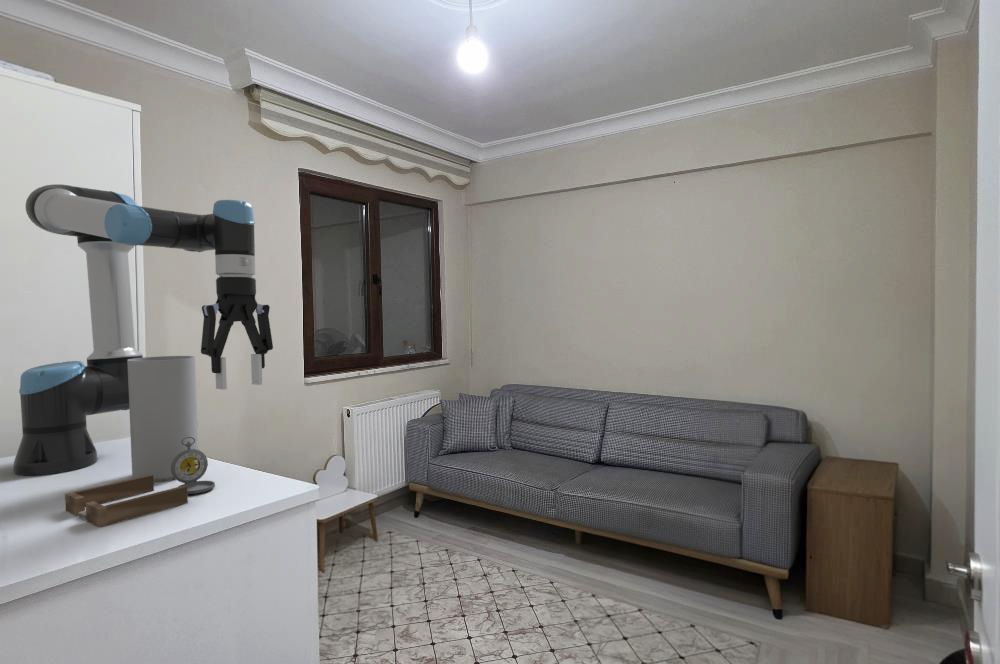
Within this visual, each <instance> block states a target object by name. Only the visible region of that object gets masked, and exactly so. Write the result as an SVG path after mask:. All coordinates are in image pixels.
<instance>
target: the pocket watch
mask: <svg viewBox="0 0 1000 664" xmlns="http://www.w3.org/2000/svg"><path fill="white" fill-rule="evenodd" d="M186 438H192V439H194V442H193V443H190V442H189V441H188V442H187V444H184V443H183V440H184V439H186ZM186 438H184V439H183V440H182V441H181V443H182V444H183V445H185V446H186V447H188V449H187V450H184V451H182V452H180V453H179V454H178V455H177V456H176V457H175V458H174V459H173V461H172V464H171V473H172V475H173V477H174V478H175V479H174V480H176V481H178V482H179V483H182V484H181V485H178V486H177V487H180V486H186V487H187V495H196V494H202V493H206V492H208V491H211V490H213V489H214V488H215V487H216V483H215V482H214V481H213V480H200V479H201V478H202V477H203V476H204V475H205V473H206V471H207V469H208V466H209V463H208V462H209V461H208V458H207V455H206V454H205V453H204V452H202V450H201V451H200V450H199V449H198V450H196V449H191V448H190V446H192V444H194V443H195V438H193V437H186ZM195 460H197V462H195V463H194V461H195ZM196 463H198V464H196ZM197 465H198V468H194V467H196V466H197ZM180 469H181V470H183V471H181V470H180ZM185 469H187V471H186V470H185ZM184 471H185V472H189V475H186V474H185V472H184ZM182 472H184V474H182ZM190 472H192V474H190Z"/></svg>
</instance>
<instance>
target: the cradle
mask: <svg viewBox="0 0 1000 664" xmlns="http://www.w3.org/2000/svg"><path fill="white" fill-rule="evenodd" d="M154 482H155V481H153V475H151V474H150V475H145V476H141V477H137V478H128V479H125V480H120V481H115V482H110V483H107V484H102V485H97V486H94V487H89V488H84V489H81V490H80V489H79V490H75V491H71V492H68V493H67V492H66V493H64V503H65V504H64V505H65V506H64V507H65V512H68V513H70V514H71V515H73V516H75V517H78V518H80V519H82V520H84V521H86V522H88V523H90V524H92V525H94V526H96V527H97V528H102V527H106V526H110V525H113V524H117V523H119V522H124V521H127V520H131V519H135V518H138V517H143V516H146V515H149V514H152V513H157V512H160V511H164V510H167V509H171V508H175V507H178V506H182V505H185V504H188V502H189V501H188V494H187V487H186V486H180V485H179V486H180V487H178V486H177V487H172V488H169V489H164V490H161V491H158V492H153V491H155V486H154V485H155V484H154ZM149 492H153V493H149ZM145 493H146V495H145ZM147 493H149V494H147ZM140 494H144V495H142V496H138V495H140ZM133 496H137V497H134V498H130V499H125V498H129V497H133ZM121 499H125V500H122V501H118V502H114V503H110V504H106V505H103V504H105V503H109V502H113V501H117V500H121Z"/></svg>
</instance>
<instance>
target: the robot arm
mask: <svg viewBox="0 0 1000 664" xmlns="http://www.w3.org/2000/svg"><path fill="white" fill-rule="evenodd" d="M25 212H26V215H27V217H28V219H29V220H30V221H31V222H32V223H33V224H34V225H35V226H37V227H38V228H40V229H41V230H44V231H45V232H48V233H51V234H54V235H55V234H56V235H60V236H61V235H62V236H70V237H76V240H77V247H79V248H80V249H81V250H83V252H85V255H86V269H87V280H88V281H87V282H88V295H89V296H88V297H89V308H90V319H91V335H92V336H91V337H92V346H93V348H92V349H93V351H92V353H90V355H88V356H87V357H86V365H85V364H84V362H83V361H81V360H72V361H70V360H68V361H63V362H53V363H49V364H42V365H39V366H35V367H31V368H28V369H26V370H25V371H23V373H21V375H20V379H19V380H20V382H19V384H20V387H19V390H18V392H19V395H20V412H21V427H22V431H21V432H22V438H21V440H20V442H19V446H18V449H17V452H16V455H15V457H14V461H13V473H14V472H15V474H16V473H17V474H16V475H20V474H24V475H23V476H39V475H49V474H57V473H63V472H65V473H66V472H70V471H73V470H79V469H82V468H86V467H89V466H92V465H94V464H95V463H97V462H98V451H97V449H96V446H95V445H94V442H93V439H92V438H91V436H90V434H89V431H88V428H87V426H88V425H87V416H92V415H99V414H105V413H112V412H118V411H130V410H129V387H128V363H127V360H129V359H134V358H144V355H143V353H142V352H140V351H139V350H138V349H136V345H135V332H134V319H133V318H134V316H133V315H134V314H133V305H132V304H133V303H132V292H131V290H132V289H131V277H130V265H129V262H130V261H129V253H130V251H132V249H134V248H135V246H141V247H143V246H144V247H145V246H146V247H157V248H158V247H159V248H169V249H179V250H184V251H187V252H193V253H195V252H197V253H202V252H206V251H214V255H215V256H214V257H215V259H214V261H215V264H214V265H215V275H217V276H218V277H217V278H216V279H215V286H216V287H215V288H216V293H215V294H216V296H217V299H216V301H215V303H214V304H203V305H202V307H201V312H202V315H203V323H202V335H201V336H202V337H201V342H200V343H201V344H200V353H201V355H205V356H208V357H210V359H211V372H212V373H213V374H215V389H217V390H224V391H225V390H227V387H228V385H227V357H225V356H222V355H223V352H224V349H225V346H226V343H227V340H228V337H229V334H230V331H231V328H232V326H233V325H234V323H236V322H241V325H242V326H243V327H244V329H245V331H246V334H247V337H248V339H249V342H250V345H251V347H252V349H253V351H254V353H250V365H251V368H250V369H251V385H256V386H262V385H263V369H265V366H266V364H265V362H266V361H265V355H267V354H268V351H271V350H273V348H274V345H273V338H272V331H271V330H272V329H271V324H270V319H269V315H270V314H269V313H270V308H271V307H270V305H269V304H262V303H261V304H260V303H258V302H257V299H256V295H257V281H256V278H255V277H253V276H255V275H256V259H255V258H256V257H255V253H256V251H255V248H256V246H255V218H254V210H253V206H252V204H251V203H249V202H247V201H243V200H236V199H220V200H216V201H215V202H214V203H213V210H212V213H207V214H196V213H189V212H182V211H175V210H174V211H173V210H166V209H159V208H154V207H147V206H139V204H138V203H137V201H135V200H134V199H133V198H132V197H131V196H129V195H127V194H123V193H118V192H116V191H112V190H109V191H108V190H101V189H96V188H95V189H93V188H88V187H80V186H74V185H73V186H72V185H67V184H59V183H58V184H57V183H56V184H49V185H48V184H47V185H43V186H41V187H38V188H36V189H34V190H33V191H32V192H31V193H30V194H29V195H28V197H27V198H26V202H25ZM218 312H219V313H220V314H221V315H220V318H219V321H218V324H219V325H218V328H217V331H216V324H217V323H216V322H217V314H218ZM254 313H256V319H255V316H254ZM256 320H257V321H256ZM256 322H257V325H258V328H257V325H256Z"/></svg>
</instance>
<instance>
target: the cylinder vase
mask: <svg viewBox="0 0 1000 664" xmlns="http://www.w3.org/2000/svg"><path fill="white" fill-rule="evenodd" d="M127 363H128V387H129V410H128V411H129V426H130V428H129V431H130V452H131V453H130V454H131V457H130V458H131V475H132V477H133V478H137V477H141V476H145V475H150V474H151V475H153V482H164V481H169V480H170V481H171V480H176V479H175V478H174V477H173V475H172V473H171V464H172V461H173V459H174V458H175V457H176V456H177V455H178V454H179V453H180V452H182V451H184V450H187V449H188V447H186V446H185V445H183V444H182V443H181V441H182V440H183V439H184V438H186V437H193V438H195V443H194V444H192V446H190V448H191V449H196V450H199V432H198V430H199V429H198V427H199V426H198V409H197V408H198V402H197V400H198V399H197V398H198V397H197V375H196V372H197V371H196V356H194V355H164V356H163V355H162V356H161V355H160V356H149V357H148V356H146V357H145V356H143V358H134V359H129V360H127ZM188 441H189V442H190V443H193V442H194V439H192V438H186V439H184V440H183V443H184V444H187V442H188ZM195 462H197V460H195V461H194V463H195ZM196 464H198V463H196ZM194 468H198V465H197V466H196V467H194ZM180 470H181V469H180ZM185 470H186V471H187V469H185ZM181 471H183V470H181ZM184 472H185V471H184ZM184 472H182V474H184ZM185 474H186V475H189V472H185ZM190 474H192V472H190Z"/></svg>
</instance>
